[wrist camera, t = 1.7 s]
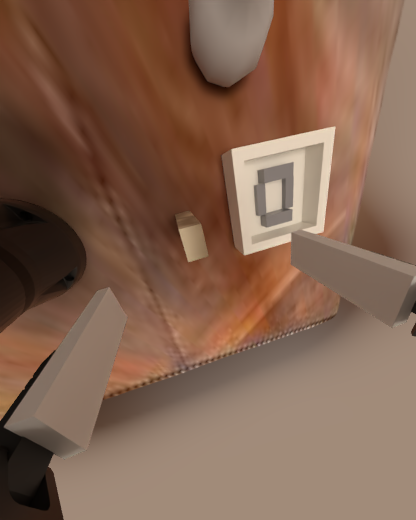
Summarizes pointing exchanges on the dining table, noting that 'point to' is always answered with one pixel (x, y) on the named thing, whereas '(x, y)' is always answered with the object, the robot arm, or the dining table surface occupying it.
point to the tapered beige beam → (191, 236)
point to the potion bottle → (228, 37)
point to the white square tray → (278, 188)
